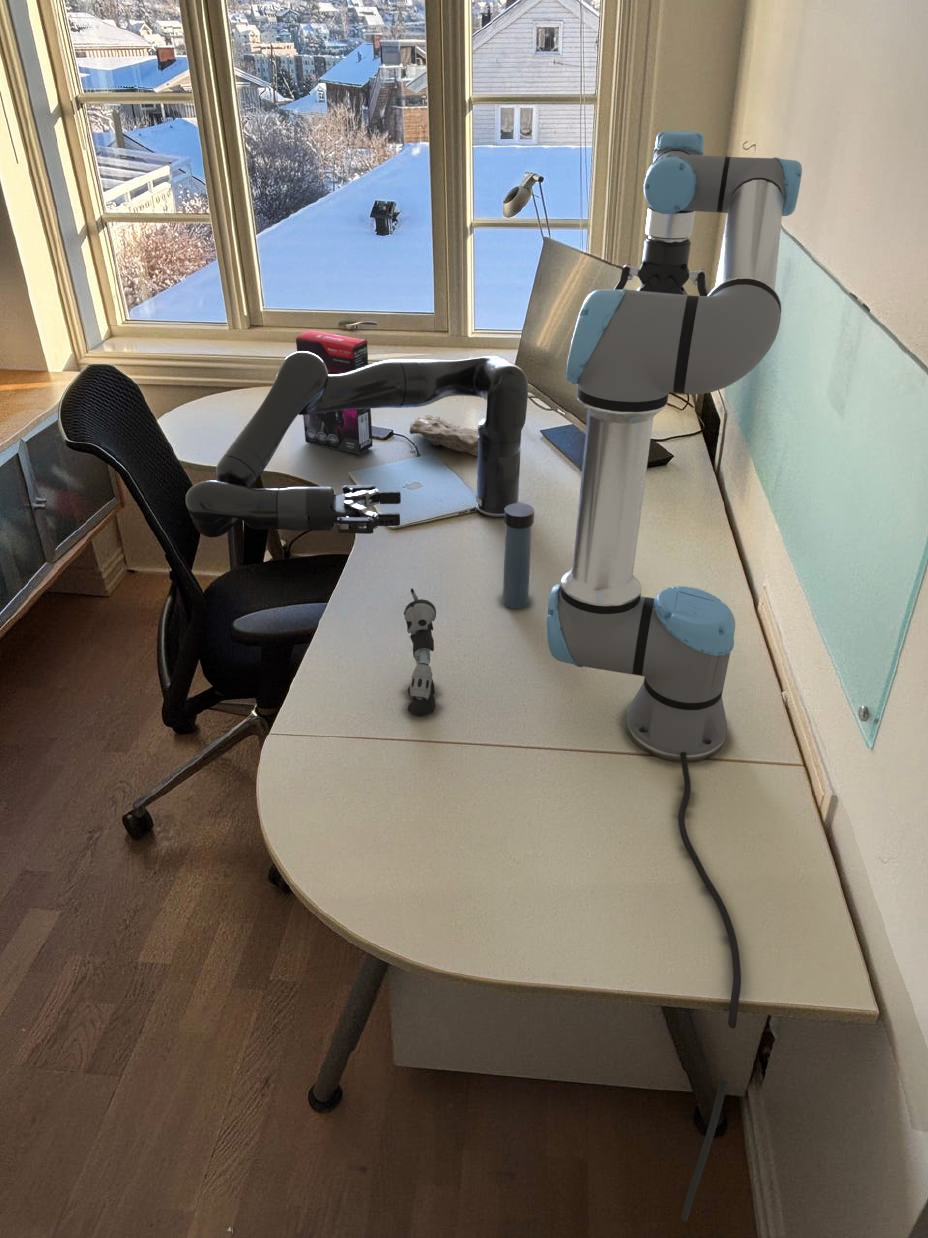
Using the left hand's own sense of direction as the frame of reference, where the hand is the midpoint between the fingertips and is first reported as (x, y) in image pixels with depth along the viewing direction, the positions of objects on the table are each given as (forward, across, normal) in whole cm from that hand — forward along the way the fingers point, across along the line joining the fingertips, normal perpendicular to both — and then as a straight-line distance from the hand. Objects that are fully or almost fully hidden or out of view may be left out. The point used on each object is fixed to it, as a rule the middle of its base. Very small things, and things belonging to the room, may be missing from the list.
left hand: (400, 508), depth 160 cm
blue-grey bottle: (+21, -2, -20) cm, 29 cm away
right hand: (+45, -15, +21) cm, 51 cm away
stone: (+10, -76, -19) cm, 79 cm away
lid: (+21, -2, -2) cm, 21 cm away
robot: (+3, +27, -21) cm, 35 cm away
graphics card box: (-17, -76, -20) cm, 80 cm away
